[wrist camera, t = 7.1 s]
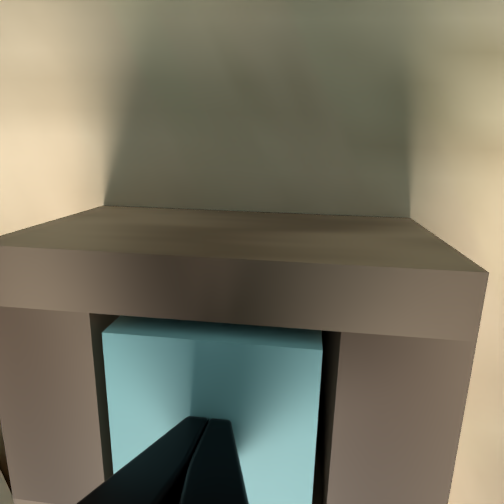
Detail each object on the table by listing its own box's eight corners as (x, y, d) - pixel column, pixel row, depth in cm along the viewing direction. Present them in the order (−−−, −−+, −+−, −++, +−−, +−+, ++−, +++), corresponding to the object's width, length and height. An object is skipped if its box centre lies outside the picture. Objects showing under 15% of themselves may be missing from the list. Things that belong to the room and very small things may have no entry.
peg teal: (316, 266, 12) (322, 350, 7) (308, 387, 13) (309, 533, 8) (182, 258, 12) (102, 332, 7) (185, 376, 13) (116, 507, 8)
